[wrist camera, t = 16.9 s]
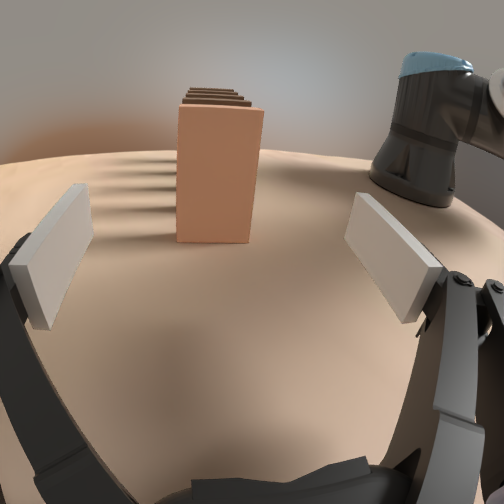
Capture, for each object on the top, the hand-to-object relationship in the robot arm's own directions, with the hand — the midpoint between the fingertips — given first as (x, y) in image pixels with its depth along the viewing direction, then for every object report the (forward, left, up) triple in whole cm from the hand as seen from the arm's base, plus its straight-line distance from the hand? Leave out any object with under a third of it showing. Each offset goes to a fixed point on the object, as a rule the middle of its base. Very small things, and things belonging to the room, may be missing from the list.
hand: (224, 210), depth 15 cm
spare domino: (+2, -10, -7) cm, 12 cm away
